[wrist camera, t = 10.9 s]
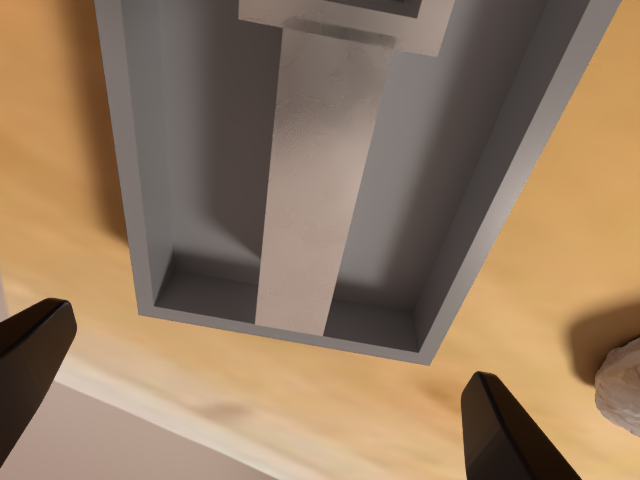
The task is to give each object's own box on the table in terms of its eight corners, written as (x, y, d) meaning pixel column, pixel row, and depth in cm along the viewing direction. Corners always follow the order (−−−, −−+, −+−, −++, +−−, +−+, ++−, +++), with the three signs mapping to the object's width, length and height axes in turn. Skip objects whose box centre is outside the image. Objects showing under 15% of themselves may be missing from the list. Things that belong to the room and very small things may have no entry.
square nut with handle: (351, 280, 21) (349, 340, 18) (248, 262, 21) (227, 320, 18) (479, -186, 11) (530, -243, 8) (283, -226, 11) (250, -303, 8)
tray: (420, 314, 23) (429, 365, 20) (166, 269, 23) (138, 314, 20) (680, -259, 10) (799, -338, 8) (116, -388, 10) (19, -524, 7)
